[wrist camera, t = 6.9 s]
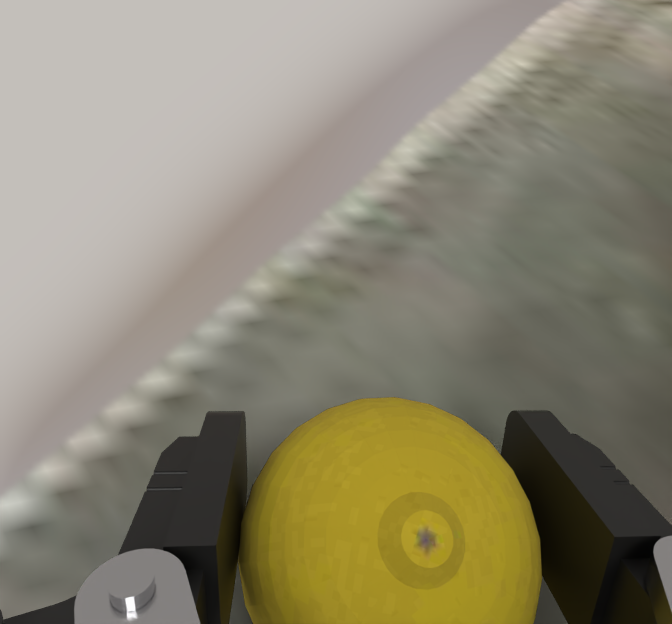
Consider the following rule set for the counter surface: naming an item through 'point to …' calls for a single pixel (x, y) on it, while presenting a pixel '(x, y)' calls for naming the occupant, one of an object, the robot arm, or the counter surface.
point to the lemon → (388, 524)
